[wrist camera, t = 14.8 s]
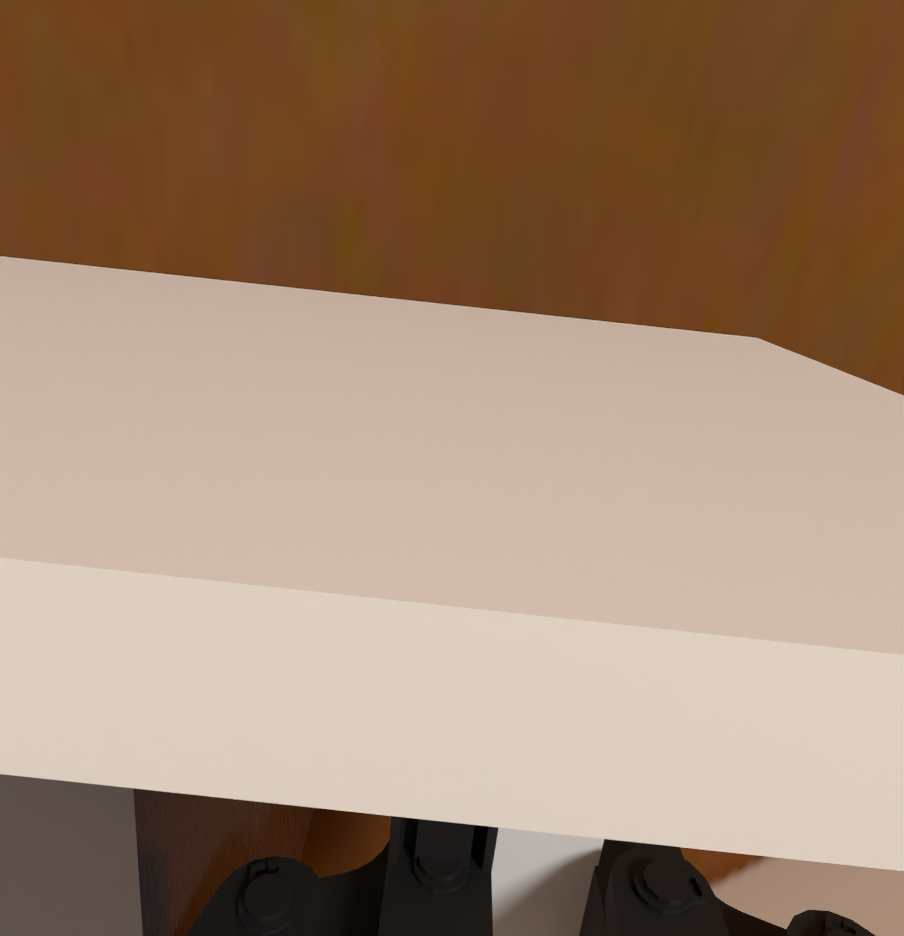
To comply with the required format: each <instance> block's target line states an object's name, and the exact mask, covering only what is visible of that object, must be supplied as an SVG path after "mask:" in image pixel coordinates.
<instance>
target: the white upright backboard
mask: <svg viewBox="0 0 904 936" xmlns="http://www.w3.org/2000/svg"><path fill="white" fill-rule="evenodd" d="M0 774H5V775H14V776H23V777H33V778H42V779H51V780H61V781H70V782H79V783H89V784H98V785H107V786H116V787H126V788H135V789H144V790H154V791H163V792H172V793H182V794H191V795H200V796H210V797H219V798H228V799H237V800H247V801H256V802H265V803H275V804H284V805H293V806H303V807H312V808H321V809H331V810H340V811H349V812H358V813H368V814H377V815H386V816H396V817H405V818H414V819H424V820H433V821H442V822H452V823H461V824H470V825H480V826H489V827H498V828H507V829H517V830H526V831H535V832H545V833H554V834H563V835H573V836H582V837H591V838H601V839H610V840H619V841H628V842H638V843H647V844H656V845H666V846H675V847H684V848H694V849H703V850H712V851H722V852H731V853H740V854H749V855H759V856H768V857H777V858H787V859H796V860H805V861H815V862H825V863H833V864H843V865H852V866H861V867H871V868H881V869H889V870H899V871H904V396H903V395H901V394H898V393H896V392H893V391H891V390H888V389H886V388H883V387H881V386H878V385H875V384H873V383H870V382H868V381H865V380H863V379H860V378H858V377H855V376H853V375H850V374H847V373H845V372H842V371H840V370H837V369H835V368H832V367H830V366H827V365H825V364H822V363H820V362H817V361H814V360H812V359H809V358H807V357H804V356H802V355H799V354H797V353H794V352H792V351H789V350H786V349H784V348H781V347H779V346H776V345H774V344H771V343H769V342H766V341H764V340H761V339H759V338H754V337H745V336H735V335H726V334H717V333H708V332H698V331H689V330H680V329H670V328H661V327H652V326H643V325H633V324H624V323H615V322H606V321H596V320H587V319H578V318H568V317H559V316H550V315H541V314H531V313H522V312H513V311H504V310H494V309H485V308H476V307H466V306H457V305H448V304H439V303H429V302H420V301H411V300H401V299H392V298H383V297H374V296H364V295H355V294H346V293H337V292H327V291H318V290H309V289H299V288H290V287H281V286H272V285H262V284H253V283H244V282H234V281H225V280H216V279H207V278H197V277H188V276H179V275H170V274H160V273H151V272H142V271H132V270H123V269H114V268H105V267H95V266H86V265H77V264H68V263H58V262H49V261H40V260H30V259H21V258H12V257H3V256H0Z"/></svg>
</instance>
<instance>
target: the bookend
mask: <svg viewBox="0 0 904 936" xmlns="http://www.w3.org/2000/svg"><path fill="white" fill-rule="evenodd" d="M314 810H315V808H312V807H303V806H293V805H284V804H275V803H265V802H256V801H247V800H237V799H228V798H219V797H210V796H200V795H191V794H182V793H172V792H163V791H154V790H144V789H135V788H126V787H116V786H107V785H98V784H89V783H79V782H70V781H61V780H51V779H42V778H33V777H23V776H14V775H5V774H0V936H186V934H187V933H188V931H189V930H190V928H191V927H192V925H193V924H194V922H195V921H196V919H197V918H198V916H199V915H200V913H201V912H202V910H203V909H204V908H205V906H206V905H207V903H208V902H209V900H210V899H211V897H212V896H213V894H214V893H215V891H216V890H217V888H218V887H219V886H220V885H221V884H222V883H223V882H224V881H225V880H226V879H227V878H228V876H229V875H230V874H231V873H232V872H233V871H235V870H236V869H238V868H240V867H242V866H244V865H246V864H247V863H249V862H251V861H253V860H257V859H262V858H268V857H273V856H278V857H285V858H292V859H296V860H298V861H299V862H300V860H301V856H302V853H303V849H304V846H305V842H306V839H307V835H308V831H309V828H310V824H311V821H312V817H313V814H314Z"/></svg>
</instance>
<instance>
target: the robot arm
mask: <svg viewBox="0 0 904 936" xmlns="http://www.w3.org/2000/svg"><path fill="white" fill-rule="evenodd" d="M186 936H875V935H874V934H872V933H871V932H869V931H868V930H866V929H864V928H863V927H862V926H860V925H859V924H857V923H855V922H854V921H853V920H850V919H848V918H845V917H843V916H840V915H838V914H835V913H832V912H830V911H819V910H807V911H805V912H802V913H800V914H798V915H796V916H794V917H793V919H792V921H791V923H790V924H789V926H788V928H787V930H786V929H784V928H781V927H778V926H776V925H773V924H771V923H768V922H766V921H763V920H761V919H758V918H755V917H753V916H751V915H748V914H746V913H743V912H741V911H739V910H737V909H735V908H733V907H731V906H729V905H727V904H725V903H724V902H722V901H721V900H720V899H718V898H717V897H715V895H714V893H713V891H712V889H711V887H710V886H709V884H708V882H707V880H706V879H705V877H704V876H703V875H702V874H701V873H700V872H699V871H698V870H697V869H696V868H695V867H694V866H693V865H692V864H691V863H690V862H688V861H686V860H684V857H683V855H682V852H681V849H680V847H675V846H666V845H656V844H647V843H638V842H628V841H619V840H610V839H601V838H591V837H582V836H573V835H563V834H554V833H545V832H535V831H526V830H517V829H507V828H498V827H489V826H480V825H470V824H461V823H452V822H442V821H433V820H424V819H414V818H405V817H396V816H392V819H391V830H390V840H389V842H388V843H387V845H386V847H385V848H384V850H383V851H382V852H381V853H380V854H379V855H378V856H377V857H376V858H375V859H374V860H372V861H371V862H369V863H367V864H366V865H364V866H362V867H361V868H359V869H356V870H353V871H349V872H346V873H343V874H338V875H333V876H328V877H324V878H318V877H317V875H316V874H315V872H314V871H313V870H312V868H310V867H308V866H307V865H305V864H303V863H301V862H299V861H298V860H296V859H292V858H285V857H278V856H273V857H268V858H262V859H257V860H253V861H251V862H249V863H247V864H246V865H244V866H242V867H240V868H238V869H236V870H235V871H233V872H232V873H231V874H230V875H229V876H228V878H227V879H226V880H225V881H224V882H223V883H222V884H221V885H220V886H219V887H218V888H217V890H216V891H215V893H214V894H213V896H212V897H211V899H210V900H209V902H208V903H207V905H206V906H205V908H204V909H203V910H202V912H201V913H200V915H199V916H198V918H197V919H196V921H195V922H194V924H193V925H192V927H191V928H190V930H189V931H188V933H187V934H186Z"/></svg>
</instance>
